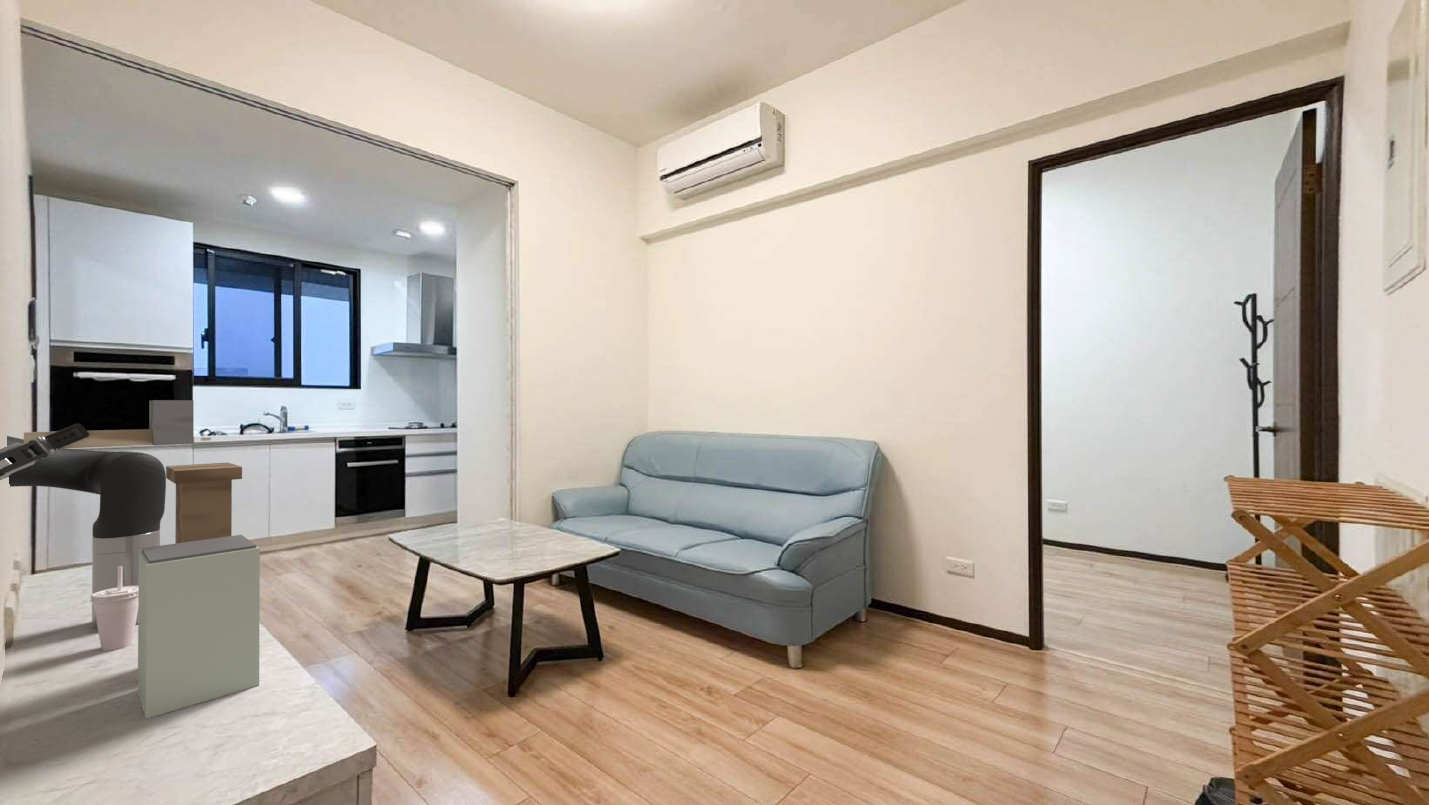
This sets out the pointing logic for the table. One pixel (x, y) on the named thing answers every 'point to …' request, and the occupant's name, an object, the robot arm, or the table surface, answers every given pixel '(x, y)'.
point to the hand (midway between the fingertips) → (84, 429)
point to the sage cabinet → (197, 622)
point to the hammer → (165, 428)
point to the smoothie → (116, 614)
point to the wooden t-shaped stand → (203, 500)
